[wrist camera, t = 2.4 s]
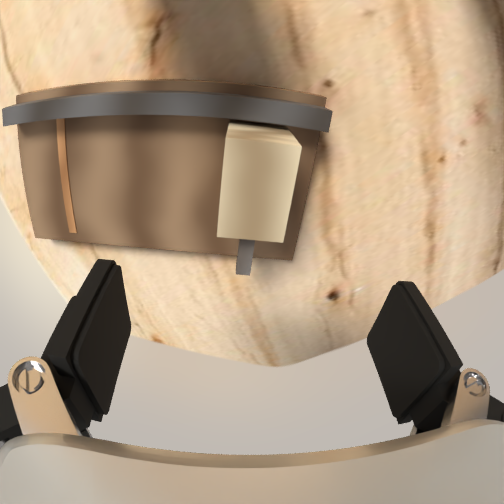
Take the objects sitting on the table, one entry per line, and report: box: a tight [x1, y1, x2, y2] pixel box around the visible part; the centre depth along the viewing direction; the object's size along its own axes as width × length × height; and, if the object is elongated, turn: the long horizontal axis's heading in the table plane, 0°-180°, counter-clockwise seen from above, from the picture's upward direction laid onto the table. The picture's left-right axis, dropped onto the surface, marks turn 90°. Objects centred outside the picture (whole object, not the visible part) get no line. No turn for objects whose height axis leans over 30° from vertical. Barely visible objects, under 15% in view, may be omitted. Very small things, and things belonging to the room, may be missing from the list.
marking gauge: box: [217, 120, 302, 275], centre depth 20 cm, size 4×10×6 cm, turn 173°
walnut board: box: [2, 79, 332, 260], centre depth 22 cm, size 25×14×4 cm, turn 83°
